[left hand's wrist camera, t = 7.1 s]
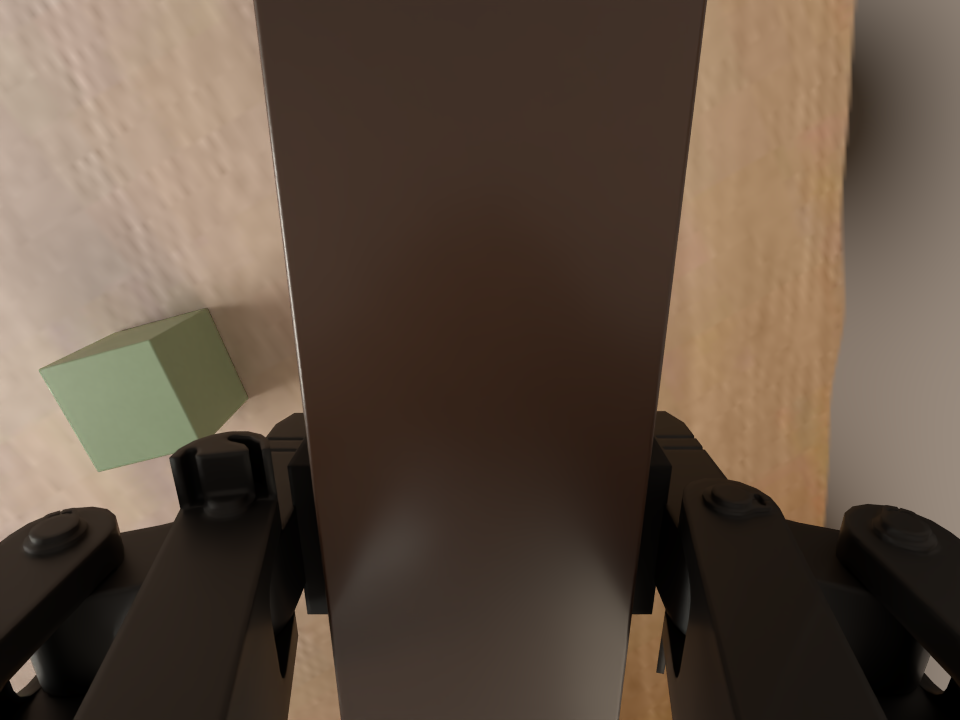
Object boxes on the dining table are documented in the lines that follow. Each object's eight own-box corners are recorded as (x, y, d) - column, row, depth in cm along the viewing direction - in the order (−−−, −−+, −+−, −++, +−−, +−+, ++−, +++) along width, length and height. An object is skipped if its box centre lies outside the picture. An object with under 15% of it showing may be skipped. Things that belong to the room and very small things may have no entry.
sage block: (249, 398, 28) (202, 447, 24) (160, 421, 29) (97, 473, 24) (207, 307, 27) (149, 339, 22) (113, 332, 27) (37, 370, 22)
